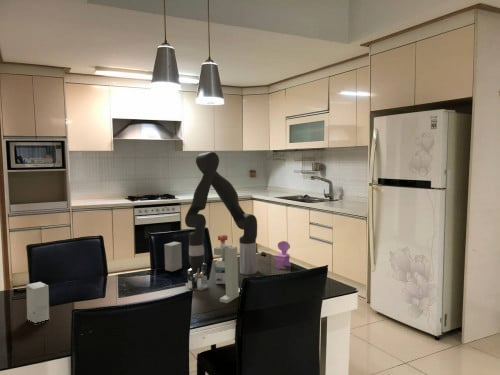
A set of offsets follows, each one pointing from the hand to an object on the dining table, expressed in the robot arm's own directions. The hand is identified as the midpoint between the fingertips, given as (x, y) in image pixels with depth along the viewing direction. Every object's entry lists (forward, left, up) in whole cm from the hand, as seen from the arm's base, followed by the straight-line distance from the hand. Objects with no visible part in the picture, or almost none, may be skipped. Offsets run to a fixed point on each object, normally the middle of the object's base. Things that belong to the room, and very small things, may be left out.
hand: (197, 286), depth 196 cm
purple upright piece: (-52, +23, -1) cm, 57 cm away
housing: (0, 0, 0) cm, 0 cm away
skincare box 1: (+61, -35, -1) cm, 70 cm away
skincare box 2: (-22, -34, -1) cm, 41 cm away
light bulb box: (-15, +6, -1) cm, 16 cm away
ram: (+4, +19, +14) cm, 23 cm away
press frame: (+4, +20, 0) cm, 21 cm away
